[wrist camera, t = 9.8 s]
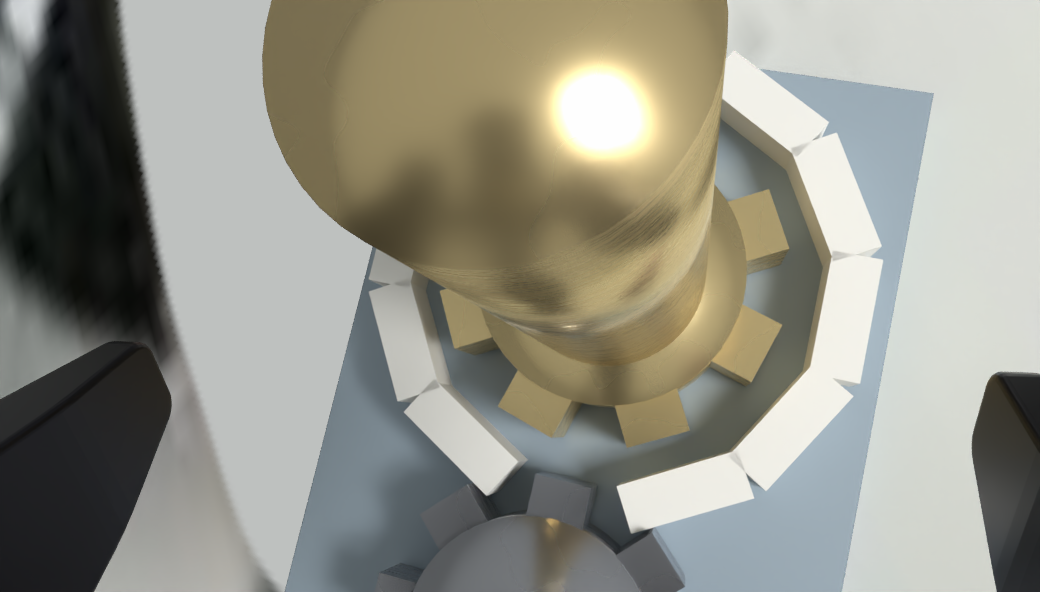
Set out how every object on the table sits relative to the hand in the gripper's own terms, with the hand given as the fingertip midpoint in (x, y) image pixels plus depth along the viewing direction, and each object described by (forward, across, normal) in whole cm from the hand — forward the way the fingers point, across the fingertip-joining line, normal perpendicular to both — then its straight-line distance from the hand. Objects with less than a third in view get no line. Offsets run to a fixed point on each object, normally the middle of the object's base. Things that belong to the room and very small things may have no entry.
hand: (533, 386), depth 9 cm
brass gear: (+10, 0, +5) cm, 11 cm away
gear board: (+8, +1, +8) cm, 11 cm away
